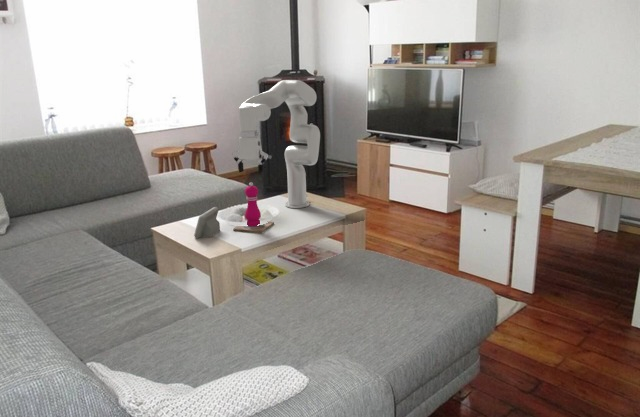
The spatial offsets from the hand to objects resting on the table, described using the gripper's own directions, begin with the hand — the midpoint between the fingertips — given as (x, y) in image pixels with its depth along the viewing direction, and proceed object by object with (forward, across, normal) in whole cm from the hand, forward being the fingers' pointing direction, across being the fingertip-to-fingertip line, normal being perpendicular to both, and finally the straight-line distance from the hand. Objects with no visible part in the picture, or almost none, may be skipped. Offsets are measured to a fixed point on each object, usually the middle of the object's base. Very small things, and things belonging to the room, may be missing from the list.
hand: (251, 172), depth 240 cm
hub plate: (+26, 0, 0) cm, 26 cm away
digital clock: (+26, +17, +14) cm, 34 cm away
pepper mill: (+25, 0, 0) cm, 25 cm away
